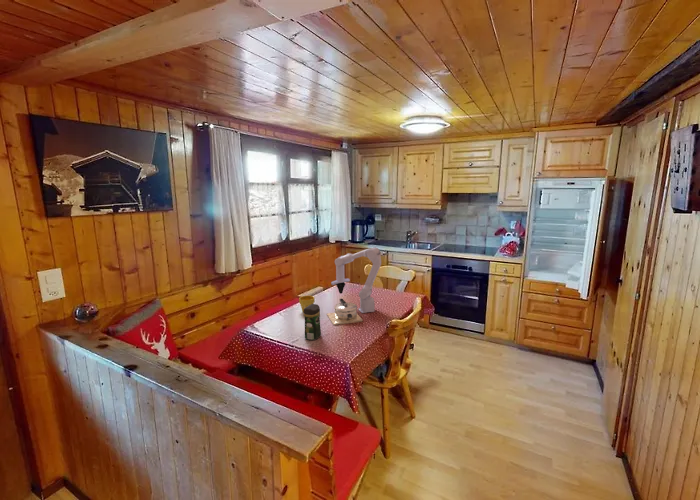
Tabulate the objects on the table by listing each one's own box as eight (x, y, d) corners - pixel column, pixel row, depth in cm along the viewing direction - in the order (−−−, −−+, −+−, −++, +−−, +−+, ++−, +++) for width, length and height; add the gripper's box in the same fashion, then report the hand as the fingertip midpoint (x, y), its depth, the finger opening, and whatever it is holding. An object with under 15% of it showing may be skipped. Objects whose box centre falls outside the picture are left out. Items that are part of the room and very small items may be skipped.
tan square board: (352, 309, 227) (352, 301, 226) (362, 321, 206) (362, 312, 205) (325, 312, 221) (325, 304, 220) (333, 325, 201) (333, 316, 199)
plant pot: (312, 314, 219) (311, 300, 217) (297, 313, 221) (296, 299, 219) (316, 309, 229) (316, 295, 227) (302, 308, 231) (302, 295, 229)
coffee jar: (310, 332, 191) (309, 302, 188) (322, 334, 188) (321, 303, 185) (302, 339, 182) (300, 307, 179) (314, 341, 179) (313, 309, 176)
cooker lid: (360, 310, 207) (360, 306, 207) (337, 313, 203) (337, 309, 202) (351, 301, 224) (351, 297, 224) (330, 303, 220) (330, 299, 220)
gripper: (345, 271, 235) (345, 289, 237) (328, 274, 226) (328, 293, 229) (351, 273, 229) (351, 292, 232) (334, 276, 221) (334, 296, 223)
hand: (340, 293), depth 230 cm, fingers closed
